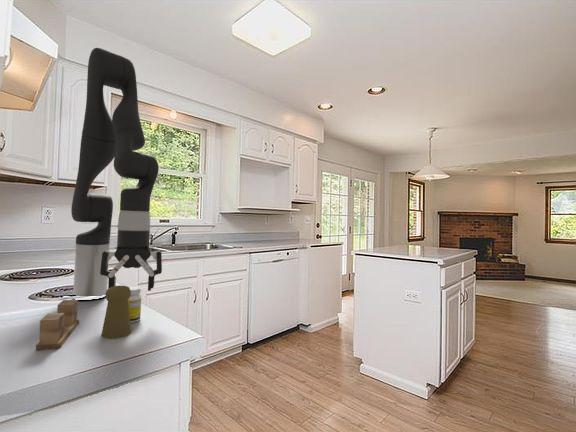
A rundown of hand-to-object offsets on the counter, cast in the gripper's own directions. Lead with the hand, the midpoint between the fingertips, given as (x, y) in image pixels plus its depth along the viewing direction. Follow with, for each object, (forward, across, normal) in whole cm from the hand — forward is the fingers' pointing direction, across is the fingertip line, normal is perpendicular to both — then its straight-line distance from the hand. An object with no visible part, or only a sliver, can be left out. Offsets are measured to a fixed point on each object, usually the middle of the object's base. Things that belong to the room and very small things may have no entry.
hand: (131, 290), depth 82 cm
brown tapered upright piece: (+8, +2, +8) cm, 12 cm away
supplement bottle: (+8, 0, -1) cm, 8 cm away
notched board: (+8, +14, +7) cm, 17 cm away
